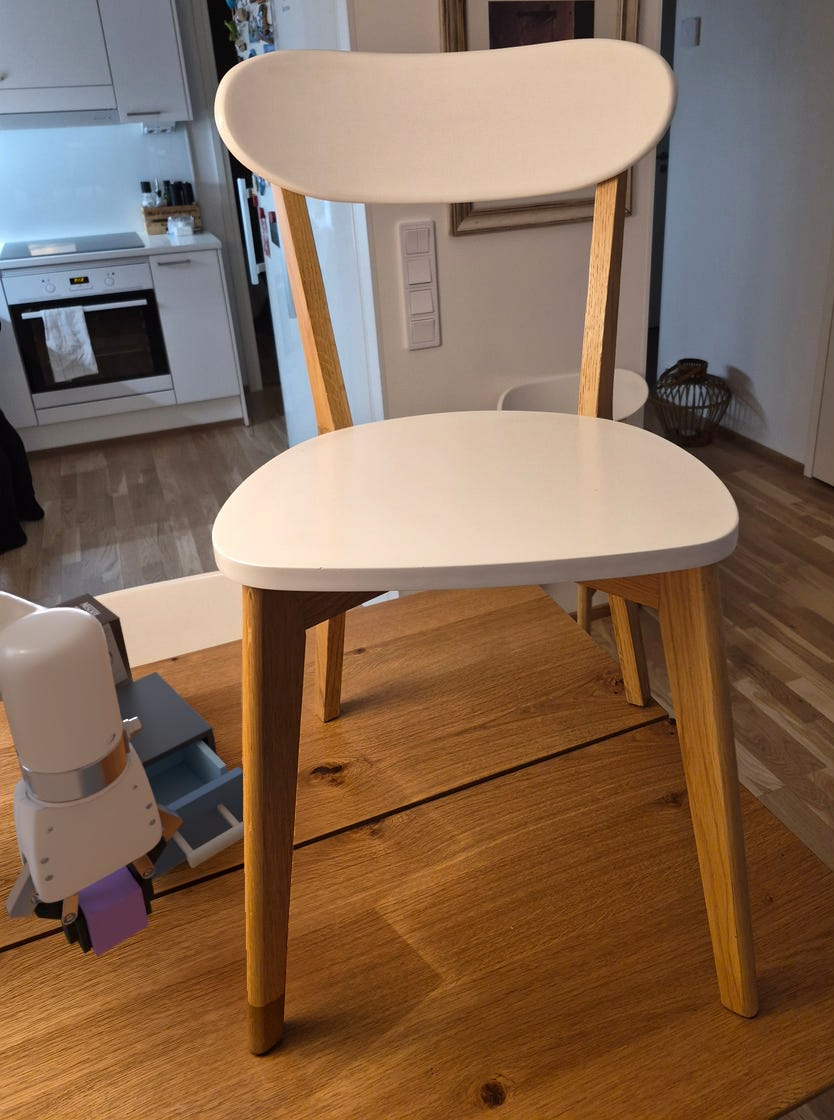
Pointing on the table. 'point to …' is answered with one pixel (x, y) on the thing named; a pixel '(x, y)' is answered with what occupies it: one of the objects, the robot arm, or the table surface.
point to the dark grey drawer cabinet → (161, 719)
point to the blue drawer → (197, 804)
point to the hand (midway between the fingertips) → (112, 921)
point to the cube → (113, 910)
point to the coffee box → (107, 635)
